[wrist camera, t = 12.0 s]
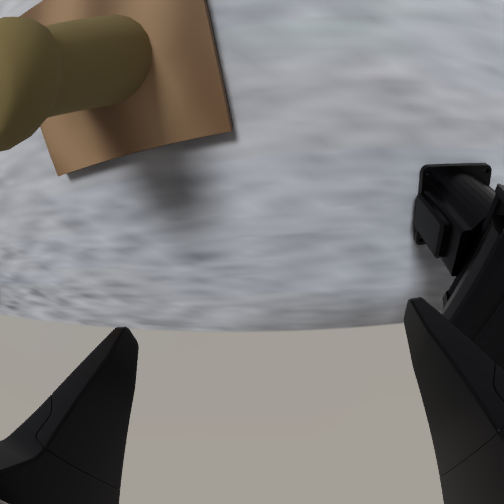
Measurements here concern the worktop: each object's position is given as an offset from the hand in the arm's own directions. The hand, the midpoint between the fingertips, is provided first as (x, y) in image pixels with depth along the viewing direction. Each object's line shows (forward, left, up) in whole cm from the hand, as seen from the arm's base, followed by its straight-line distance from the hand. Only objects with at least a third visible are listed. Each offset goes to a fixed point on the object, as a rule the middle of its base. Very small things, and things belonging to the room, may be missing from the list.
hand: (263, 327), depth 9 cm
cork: (+8, -9, -12) cm, 17 cm away
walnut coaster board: (+8, -9, -13) cm, 18 cm away
